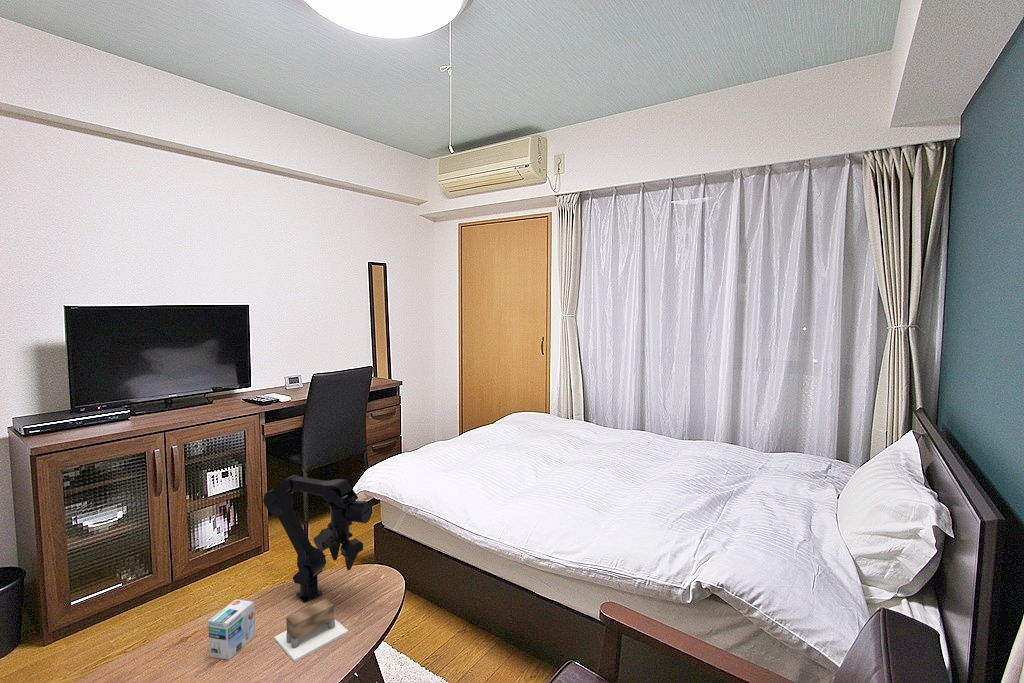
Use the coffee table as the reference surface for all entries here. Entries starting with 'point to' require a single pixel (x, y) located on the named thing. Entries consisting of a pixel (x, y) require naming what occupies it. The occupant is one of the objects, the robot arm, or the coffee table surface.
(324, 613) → the walnut board
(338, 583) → the coffee table surface
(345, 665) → the coffee table surface
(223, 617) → the light bulb box
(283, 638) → the peg stand
